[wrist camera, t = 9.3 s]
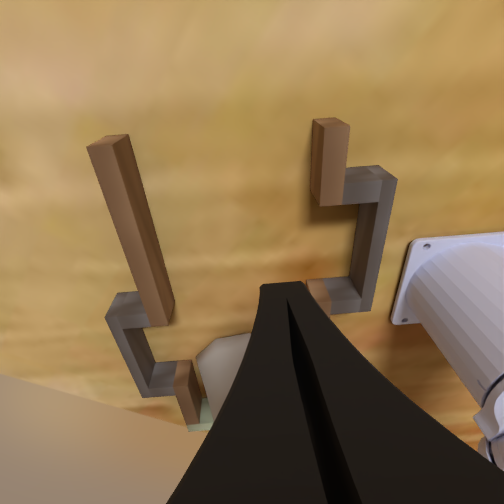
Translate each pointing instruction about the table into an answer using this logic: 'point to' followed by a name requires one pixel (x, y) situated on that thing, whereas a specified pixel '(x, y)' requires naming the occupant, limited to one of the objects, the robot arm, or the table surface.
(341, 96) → the table surface
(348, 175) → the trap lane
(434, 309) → the robot arm
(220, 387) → the flask
